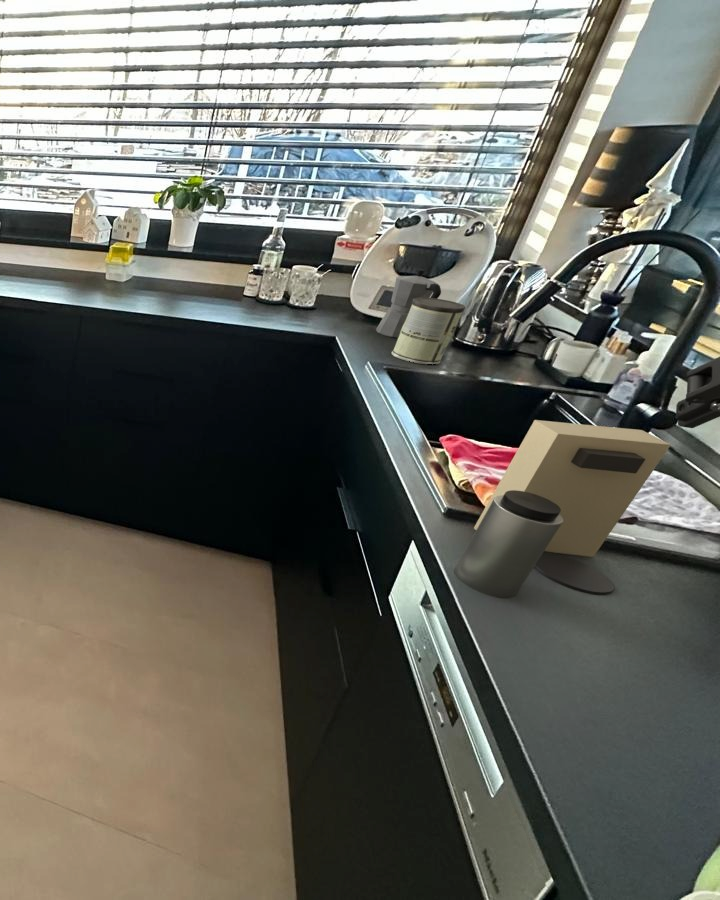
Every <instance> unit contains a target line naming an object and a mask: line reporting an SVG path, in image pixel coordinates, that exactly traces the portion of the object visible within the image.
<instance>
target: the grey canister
mask: <svg viewBox="0 0 720 900" xmlns="http://www.w3.org/2000/svg"><path fill="white" fill-rule="evenodd" d="M560 512H561V509H560V507H559V506H558V505H556V504H555V503H554V502H552V501H550V500H548V499H546V498H544V497H541V496H538V495H535V494H532V493H528V492H524V491H517V490H510V491H507V492H505V494H504V495H499V496H496V497H495V498H494V500H493V501H492V503H491V505H490V507H489V508H488V510H487V512H486V514H485V515H484V517H483V519H482V521H481V523H480V524H479V526H478V528H477V530H475V532H474V533H473V535H472V537H470V540H469V542H468V543H467V545H466V547H465V549H464V551H463V552H462V554H461V556H460V558H459V560H458V561H457V563H456V565H455V567H454V568H453V574H454V576H455V577H456V578H457V579H458V580H459V581H460V582H461V583H462V584H464V585H465V586H467V587H469V588H470V589H472V590H474V591H477V592H479V593H482V594H484V595H487V596H490V597H494V598H500V599H511V598H514V597H515V596H517V594H518V592H519V591H520V589H522V586H523V585H524V584H525V582H526V580H527V579H528V577H529V576H530V574H531V572H532V571H533V569H535V568H534V566H535V564H536V563H537V561H538V560H539V558H540V557H541V555H542V554H543V553H545V551H544V550H545V549H546V547H547V546H548V544H549V543H550V541H551V540H552V538H553V536H554V535H555V533H556V532H557V530H558V529H559V527H560V526H561V524H562V522H563V518H562V516H561V515H560V514H559V513H560Z"/></svg>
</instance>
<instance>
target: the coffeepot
mask: <svg viewBox="0 0 720 900" xmlns="http://www.w3.org/2000/svg"><path fill="white" fill-rule="evenodd" d="M425 271H426V270H425V269H422V268H419V269H417V270H416V275H397V276H396V278H395V282H394V287H393V291H392V295H391V300H390V302H391V305H390V308H389V309H387V311H386V313H385V314H384V315H383V317H382V319H381V320H380V321H379V324H378V325H377V327H376V328H375V331H376V332H377V333H378V334H380V335H382V336H386V337H388V338H395V339H398V336H399V334H400V332H401V329H402V327H403V324H404V322H405V319H406V317H407V315H408V312H409V310H410V307H411V305H412V301H413V299H414V298H420V297H424V298H436V299H439V298H440V296H441V294H442V289H441V285H440V284H439V283H437V282H436V281H434V280H431V279H430V278H427V277H424V276H423V275H424V273H425Z"/></svg>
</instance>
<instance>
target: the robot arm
mask: <svg viewBox="0 0 720 900" xmlns="http://www.w3.org/2000/svg"><path fill="white" fill-rule="evenodd" d="M686 381H687V383H686V394H685V398H683V399H681V400H679V401H678V402H677V403H676V406H675V407H676V408H675V421H677V425H678V427H681V428H688V429H694V428H697V427H699V426H701V425H704V424H706V423H708V422H711V421H714V420H716V419H717V418H720V356H717V357H716V358H713V359H711V360H709V361H707V362H705V363H703V364H701V365H698V366H696V367H694V368H692V369H690V370H688V371H687V372H686Z"/></svg>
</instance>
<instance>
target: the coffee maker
mask: <svg viewBox="0 0 720 900" xmlns="http://www.w3.org/2000/svg"><path fill="white" fill-rule="evenodd" d="M671 445H672V444H671V443H669V442H666V441H665V440H662V439H661V438H658V437H657V436H655V435H652V434H651V433H648V432H646V431H645V430H643V429H635V428H634V429H633V428H623V427H613V426H603V425H592V424H581V423H571V422H562V421H561V422H560V421H550V420H539V419H534V420H533V422H532V424H531V425H530V427H529V429H528V431H527V433H526V434H525V436H524V438H523V439H522V441H521V443H520V445H519V447H518V449H517V450H516V452H515V454H514V456H513V457H512V459H511V461H510V463H509V464H508V467H506V470H505V471H504V473H503V476H502V477H501V478H500V480H499V482H498V483H497V486H496V488H495V490H494V491H493V493H492V495H491V496H490V497H489V500H488V501H487V504H486V506H485V507H484V509H483V511H482V512H481V514H480V516H479V518H478V520H477V521H476V523H475V525H474V527H473V529H474V530H475V531H476V530H477V528H478V526H479V524H480V523H481V521H482V519H483V517H484V515H485V514H486V512H487V510H488V508H489V507H490V505H491V503H492V501H493V500H494V498H495V497H496V496H499V495H504V494H505V492H507V491H510V490H517V491H524V492H528V493H532V494H535V495H538V496H541V497H544V498H546V499H548V500H550V501H552V502H554V503H555V504H556V505H558V506H559V507H560V509H561V512H560V513H559V514H560V515H561V516H562V518H563V522H562V524H561V526H560V527H559V529H558V530H557V532H556V533H555V535H554V536H553V538H552V540H551V541H550V543H549V544H548V546H547V547H546V549H545V550H544V552H543V554H542V555H541V557H540V558H539V560H538V561H537V563H536V564H535V566H534V568H533V569H535V570H536V571H537V572H538V573H540V574H541V575H542V576H544V577H546V578H547V579H549V580H551V581H553V582H555V583H557V584H558V585H561V586H564V587H566V588H568V589H571V590H573V591H578V592H580V593H585V594H589V595H596V596H606V595H610V594H612V593H613V592H614V590H615V584H614V582H613V581H612V580H611V579H610V578H609V577H608V576H607V575H606V574H605V573H603V572H601V571H600V570H598V569H596V568H595V567H592V566H590V565H588V564H586V563H584V562H581V561H579V560H576V559H574V558H571V557H568V556H565V555H571V556H581V557H588V558H589V557H590V558H594V557H595V555H596V554H597V553H598V551H599V550H600V548H601V547H602V545H603V544H604V542H605V541H606V539H607V538H608V537H609V535H610V534H611V533H612V531H613V529H614V528H615V527H616V525H617V523H618V522H619V521H620V519H621V518H622V516H623V515H624V514H625V512H626V511H627V509H628V508H629V507H630V505H631V503H632V502H633V501H634V499H635V498H636V496H637V495H638V493H639V492H640V491H641V489H642V487H643V486H644V485H645V483H646V482H647V480H648V479H649V477H650V476H651V474H652V473H653V471H654V470H655V468H656V467H657V466H658V465H659V463H660V462H661V460H662V458H663V457H664V456H665V454H666V453H667V451H668V450H669V448H670V447H671ZM560 554H561V555H560ZM562 554H563V555H562Z"/></svg>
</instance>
